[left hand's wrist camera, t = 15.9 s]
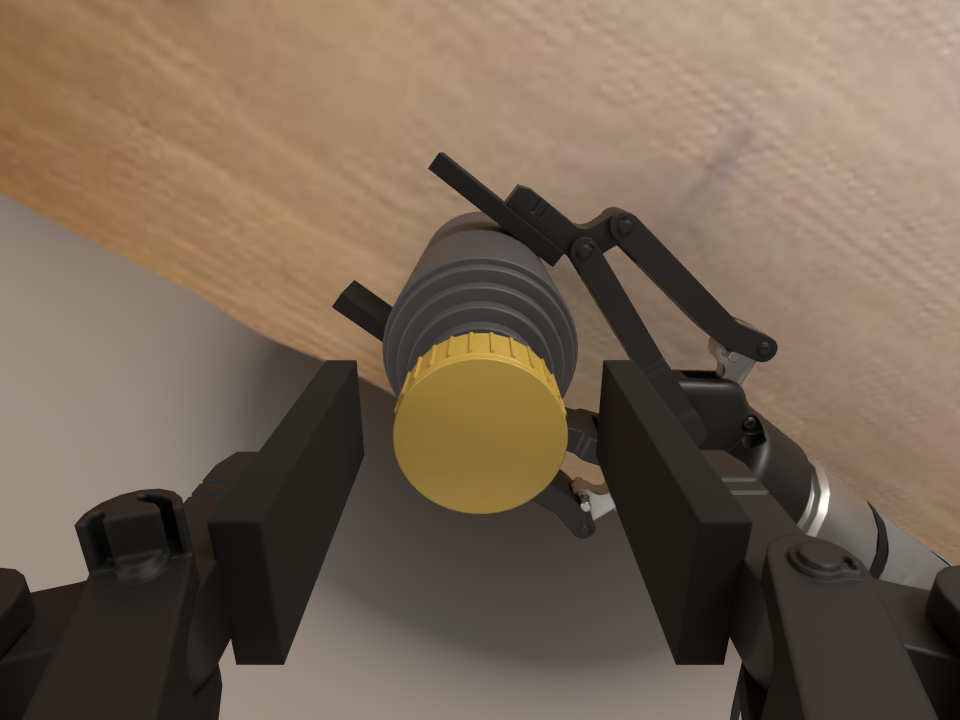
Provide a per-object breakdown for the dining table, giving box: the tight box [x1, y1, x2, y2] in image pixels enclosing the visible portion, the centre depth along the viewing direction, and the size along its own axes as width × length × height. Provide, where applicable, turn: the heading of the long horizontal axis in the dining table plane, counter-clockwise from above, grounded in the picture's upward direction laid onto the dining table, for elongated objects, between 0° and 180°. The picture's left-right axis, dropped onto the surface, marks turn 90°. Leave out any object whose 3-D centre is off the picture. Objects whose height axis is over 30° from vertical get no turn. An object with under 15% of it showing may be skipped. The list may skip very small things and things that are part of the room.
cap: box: [392, 332, 568, 514], centre depth 14 cm, size 4×4×2 cm
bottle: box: [383, 212, 578, 399], centre depth 22 cm, size 6×6×19 cm
